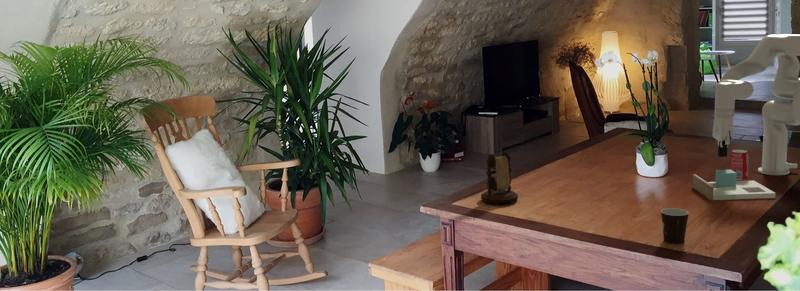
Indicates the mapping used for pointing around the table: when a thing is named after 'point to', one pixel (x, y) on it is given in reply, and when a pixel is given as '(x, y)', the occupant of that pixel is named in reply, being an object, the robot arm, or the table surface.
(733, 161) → the soda can
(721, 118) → the robot arm
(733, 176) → the block
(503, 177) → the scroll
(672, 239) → the coffee mug
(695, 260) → the table surface
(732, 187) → the tray
